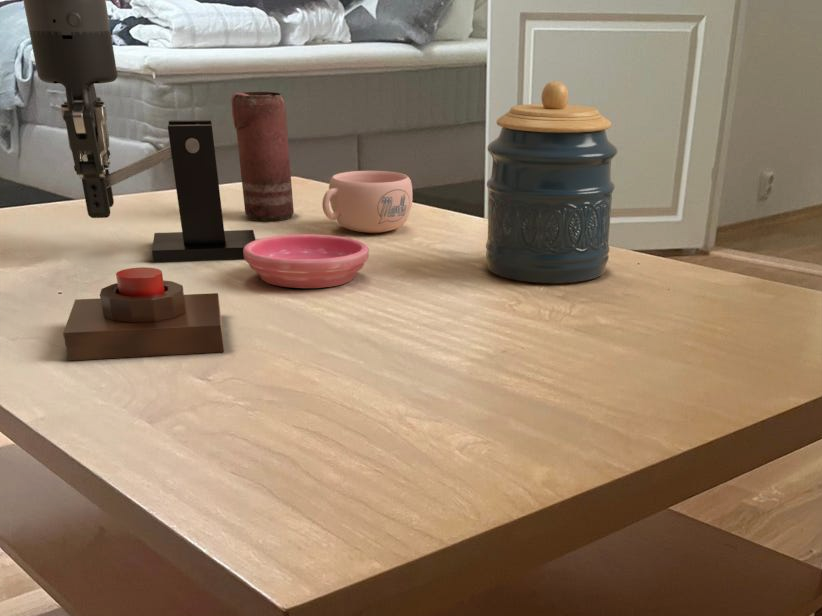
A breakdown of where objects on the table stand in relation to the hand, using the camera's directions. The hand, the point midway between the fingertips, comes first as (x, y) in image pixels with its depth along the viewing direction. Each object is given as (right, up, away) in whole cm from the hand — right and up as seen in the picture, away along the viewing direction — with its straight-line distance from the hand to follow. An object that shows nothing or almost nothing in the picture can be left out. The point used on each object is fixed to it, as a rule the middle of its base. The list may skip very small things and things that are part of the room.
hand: (101, 211), depth 107 cm
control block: (+13, -20, -23) cm, 33 cm away
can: (+13, +8, +21) cm, 26 cm away
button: (+13, -17, -25) cm, 32 cm away
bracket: (+10, -3, +5) cm, 11 cm away
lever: (+6, +4, -1) cm, 7 cm away
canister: (+47, -7, 0) cm, 48 cm away
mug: (+27, +4, +15) cm, 31 cm away
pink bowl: (+23, -9, -5) cm, 25 cm away
